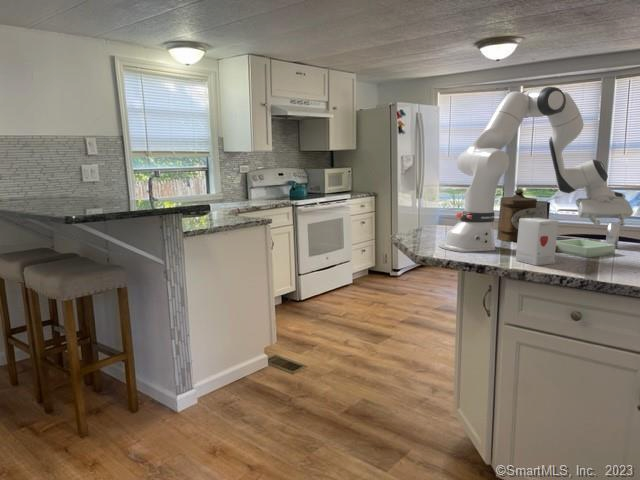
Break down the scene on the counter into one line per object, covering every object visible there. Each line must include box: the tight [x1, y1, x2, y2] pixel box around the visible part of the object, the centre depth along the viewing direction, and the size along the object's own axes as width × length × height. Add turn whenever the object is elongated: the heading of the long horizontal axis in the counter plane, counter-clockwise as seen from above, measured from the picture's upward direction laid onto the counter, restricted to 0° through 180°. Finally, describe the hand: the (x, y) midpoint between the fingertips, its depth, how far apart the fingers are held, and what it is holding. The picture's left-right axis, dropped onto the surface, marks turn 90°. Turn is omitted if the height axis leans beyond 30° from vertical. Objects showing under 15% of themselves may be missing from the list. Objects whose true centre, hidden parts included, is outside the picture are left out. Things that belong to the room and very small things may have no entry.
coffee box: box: [536, 200, 551, 219], centre depth 213 cm, size 9×6×16 cm
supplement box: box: [515, 218, 559, 266], centre depth 160 cm, size 9×9×15 cm
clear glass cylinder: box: [605, 221, 621, 250], centre depth 187 cm, size 4×4×10 cm
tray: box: [556, 238, 616, 258], centre depth 179 cm, size 16×15×4 cm
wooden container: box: [497, 188, 538, 243], centre depth 204 cm, size 15×15×22 cm
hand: (609, 225), depth 189 cm, fingers open, 8 cm apart
